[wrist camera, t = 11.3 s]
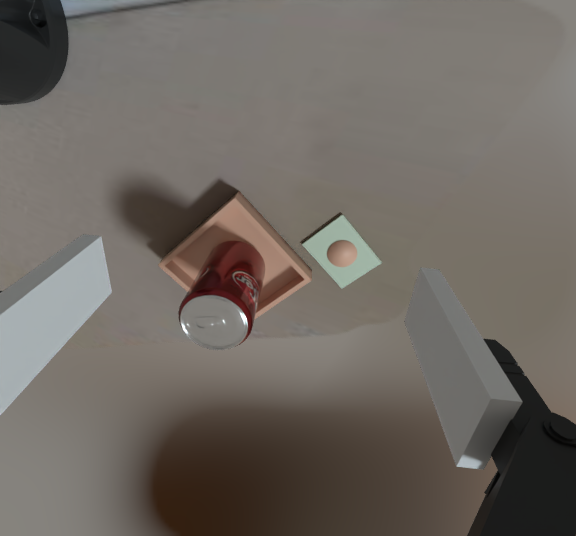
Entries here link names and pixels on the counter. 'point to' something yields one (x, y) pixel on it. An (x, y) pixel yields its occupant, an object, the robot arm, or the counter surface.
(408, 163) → the counter surface
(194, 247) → the peach shallow tray
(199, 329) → the soda can
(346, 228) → the tile
